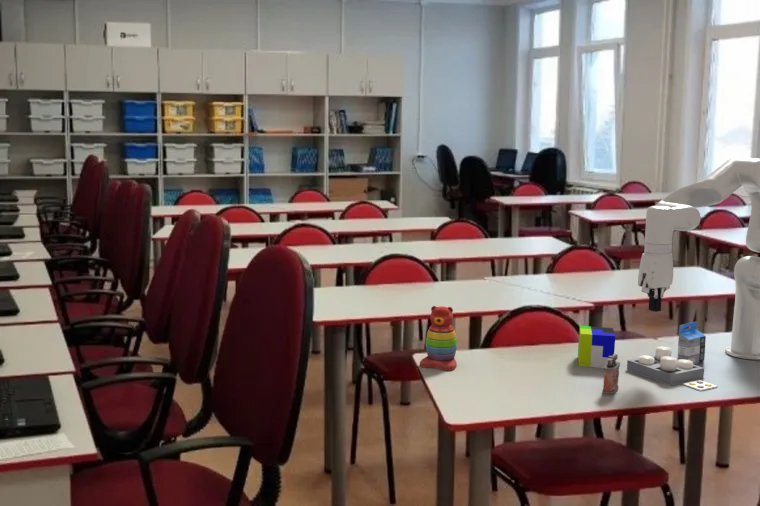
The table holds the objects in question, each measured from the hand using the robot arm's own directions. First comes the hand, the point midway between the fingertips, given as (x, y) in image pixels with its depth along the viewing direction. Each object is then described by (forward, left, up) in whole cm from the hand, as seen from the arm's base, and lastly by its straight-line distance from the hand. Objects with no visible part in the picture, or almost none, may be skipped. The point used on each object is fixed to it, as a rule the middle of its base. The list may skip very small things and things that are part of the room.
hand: (654, 310), depth 242 cm
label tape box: (-17, 0, -19) cm, 25 cm away
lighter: (+25, +8, -19) cm, 32 cm away
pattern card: (-1, +17, -18) cm, 25 cm away
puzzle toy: (+9, -14, -19) cm, 25 cm away
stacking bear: (+52, -33, -19) cm, 65 cm away
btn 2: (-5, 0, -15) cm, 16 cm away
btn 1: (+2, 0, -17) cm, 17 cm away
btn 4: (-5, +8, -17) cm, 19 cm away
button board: (-1, +4, -18) cm, 19 cm away
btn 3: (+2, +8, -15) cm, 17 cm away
